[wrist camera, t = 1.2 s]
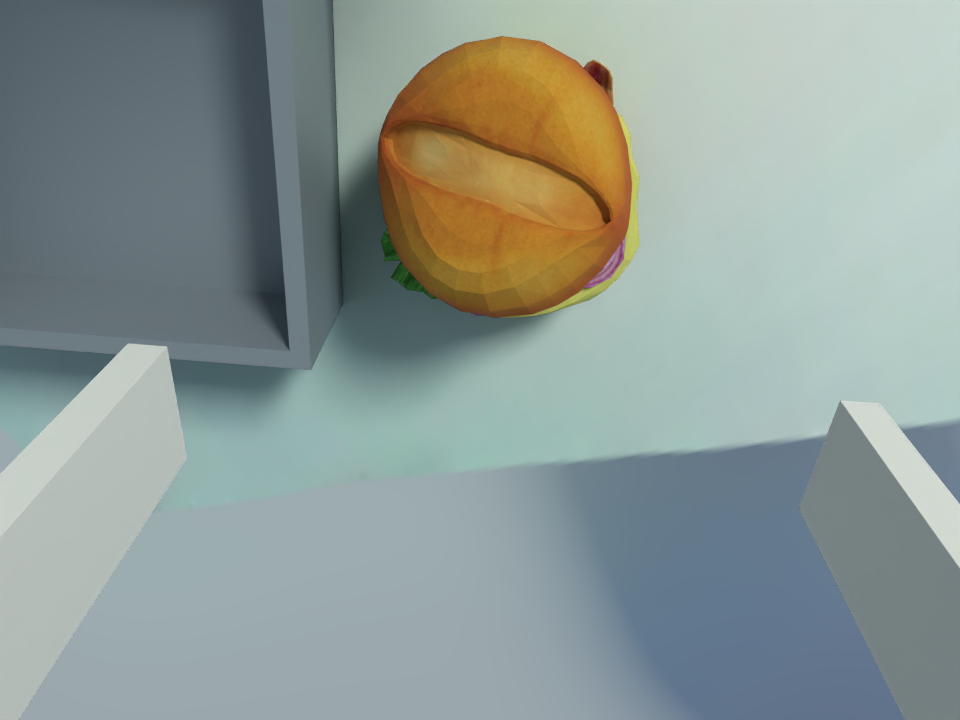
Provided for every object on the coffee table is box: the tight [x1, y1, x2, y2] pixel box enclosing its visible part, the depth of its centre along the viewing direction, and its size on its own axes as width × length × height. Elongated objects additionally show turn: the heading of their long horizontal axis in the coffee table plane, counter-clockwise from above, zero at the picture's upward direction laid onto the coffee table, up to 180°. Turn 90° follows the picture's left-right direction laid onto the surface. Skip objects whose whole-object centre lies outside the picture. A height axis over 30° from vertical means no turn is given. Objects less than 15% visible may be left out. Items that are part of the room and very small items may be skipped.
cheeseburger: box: [378, 36, 639, 318], centre depth 27 cm, size 10×11×10 cm
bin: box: [0, 0, 343, 370], centre depth 27 cm, size 18×18×6 cm
